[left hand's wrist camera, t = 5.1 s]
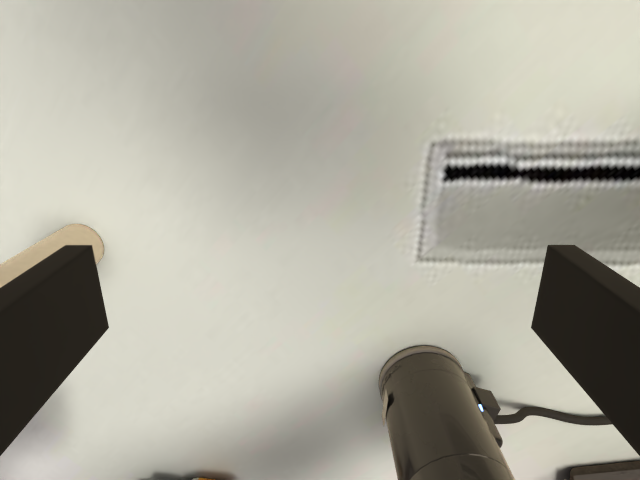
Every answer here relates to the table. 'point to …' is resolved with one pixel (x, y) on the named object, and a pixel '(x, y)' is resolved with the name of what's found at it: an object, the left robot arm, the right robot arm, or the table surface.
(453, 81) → the table surface
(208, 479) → the spray gun
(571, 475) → the toy
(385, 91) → the table surface
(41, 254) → the jar
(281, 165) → the table surface
